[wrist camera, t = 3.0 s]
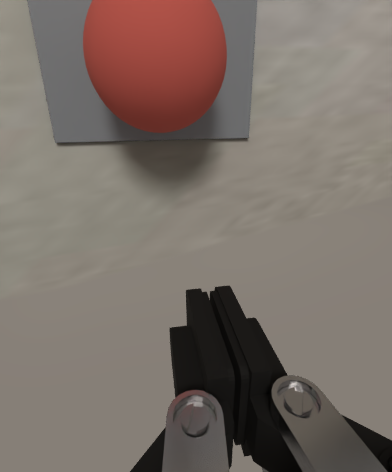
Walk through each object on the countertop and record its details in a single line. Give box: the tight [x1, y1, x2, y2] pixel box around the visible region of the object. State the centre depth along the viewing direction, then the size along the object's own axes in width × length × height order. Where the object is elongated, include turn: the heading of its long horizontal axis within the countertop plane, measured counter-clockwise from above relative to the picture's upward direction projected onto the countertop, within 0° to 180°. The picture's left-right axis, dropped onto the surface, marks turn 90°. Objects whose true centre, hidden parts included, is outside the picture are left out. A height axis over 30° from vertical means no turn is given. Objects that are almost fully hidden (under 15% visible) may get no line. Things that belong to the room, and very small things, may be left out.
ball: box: [83, 0, 227, 133], centre depth 12 cm, size 6×6×6 cm
